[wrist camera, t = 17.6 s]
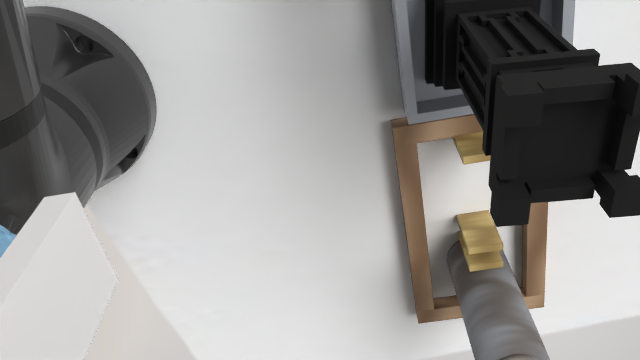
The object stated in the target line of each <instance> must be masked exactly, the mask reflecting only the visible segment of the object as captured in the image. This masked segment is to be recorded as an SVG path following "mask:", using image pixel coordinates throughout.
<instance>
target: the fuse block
mask: <svg viewBox="0 0 640 360" xmlns="http://www.w3.org/2000/svg"><path fill="white" fill-rule="evenodd" d="M391 124H392V132H393V139H394V147H395V155H396V162H397V170H398V177H399V185H400V192H401V200H402V208H403V215H404V223H405V230H406V238H407V245H408V253H409V260H410V268H411V276H412V283H413V291H414V298H415V306H416V313H417V318H418V323H426V322H434V321H441V320H449V319H457V318H463V320H464V323H465V326H466V330H467V333H468V337H469V340H470V344H471V347H472V351H473V354H474V358H475V360H550V359H549V357H548V354H547V352H546V349H545V347H544V345H543V342H542V340H541V338H540V335H539V333H538V331H537V328H536V326H535V324H534V321H533V319H532V317H531V314H530V312H529V310H528V309H533V308H540V307H544V292H545V267H546V241H547V216H548V202H540V203H531V207H530V215H529V223H528V224H525V225H523V231H522V287H519V286H518V284H517V282H516V279H515V277H514V275H513V272H512V270H511V268H510V265H509V263H508V261H507V258H506V256H505V254H504V251H503V243H502V240H501V238H500V236H499V233H498V231H497V229H496V226H495V224H494V222H493V220H492V217H491V215H490V213H489V210H487V211H481V212H474V213H467V214H460V215H457V222H458V225H459V228H460V232H458V238H459V241H458V242H457V243H455V244H454V245H453V246H452V247H451V249H450V250H449V252H448V255H447V264H448V268H449V271H450V275H451V278H452V282H453V285H454V289H455V292H456V295H457V296H449V297H442V298H435V299H433V293H432V283H431V274H430V265H429V256H428V246H427V237H426V228H425V218H424V209H423V200H422V190H421V181H420V172H419V163H418V153H417V144H416V143H422V142H428V141H434V140H440V139H446V138H453V140H454V143H455V145H456V148H457V150H458V152H459V155H460V157H461V159H462V162H463V164H471V163H477V162H483V161H490V159H491V155H490V156H485V154H484V152H483V150H482V142H483V130H482V128H481V126H480V124H479V122H478V120H477V118H476V116H475V115H474V114H470V115H464V116H458V117H452V118H446V119H440V120H434V121H428V122H422V123H416V124H410V125H409V124H408V121H407V118H401V119H395V120H391Z"/></svg>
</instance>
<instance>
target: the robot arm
mask: <svg viewBox="0 0 640 360" xmlns="http://www.w3.org/2000/svg"><path fill="white" fill-rule="evenodd" d="M155 121H156V99H155V94H154V90H153V86H152V83H151V81H150V78H149V76H148V74H147V72H146V70H145V68H144V66H143V65H142V63H141V62H140V60H139V59H138V57H137V56H136V55H135V53H134V52H133V51H132V50H131V49H130V48H129V46H128V45H127V44H126V43H125V42H124V41H123V40H121V39H120V38H119V37H118V36H117V35H116V34H114V33H113V32H112V31H110V30H109V29H108V28H106V27H105V26H103V25H101V24H100V23H98V22H96V21H94V20H92V19H90V18H88V17H86V16H84V15H81V14H78V13H76V12H72V11H69V10H65V9H60V8H54V7H27V8H24V4H23V0H0V360H84V359H85V357H86V354H87V352H88V350H89V348H90V345H91V343H92V341H93V338H94V336H95V334H96V331H97V329H98V327H99V324H100V322H101V320H102V317H103V315H104V313H105V311H106V308H107V306H108V304H109V301H110V299H111V297H112V294H113V292H114V290H115V287H116V285H117V283H118V280H119V278H118V276H117V274H116V272H115V270H114V268H113V266H112V264H111V262H110V260H109V258H108V256H107V254H106V252H105V250H104V248H103V246H102V244H101V242H100V240H99V238H98V236H97V234H96V232H95V231H94V228H93V226H92V224H91V223H90V221H89V219H88V217H87V215H86V213H85V211H84V207H85V205H86V204H87V202H88V200H89V199H90V197H91V195H92V193H93V192H94V191H95V190H97V189H98V188H100V187H102V186H104V185H105V184H107V183H109V182H110V181H112V180H114V179H115V178H117V177H119V176H120V175H122V174H123V173H125V172H126V171H127V170H128V169H129V168H130V167H132V166H133V165H134V163H135V162H136V161H137V160H138V159H139V157H140V156H141V154H142V153H143V151H144V149H145V147H146V146H147V144H148V142H149V140H150V138H151V136H152V133H153V130H154V126H155Z"/></svg>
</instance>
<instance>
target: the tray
mask: <svg viewBox="0 0 640 360" xmlns="http://www.w3.org/2000/svg"><path fill="white" fill-rule="evenodd" d="M391 3H392V12H393V20H394V29H395V37H396V46H397V55H398V63H399V72H400V80H401V89H402V97H403V106H404V111H405V114H406V118H407V121H408V124H409V125H410V124H416V123H422V122H428V121H434V120H440V119H446V118H452V117H458V116H464V115H470V114H474V113H473V111H472V109H471V107H470V105H469V103H468V101H467V99H466V98H465V96H464V94H463V92H462V90H461V89H452V90H444V88H443V86H441V87H435V85H434V83H433V84H426V81H425V0H391ZM574 12H575V0H541V7H540V17H541V18H542V19H543V20H544V21H546V22H547V23H548V24H549V25H550V26H551V27H552V28H553V29H554V30H556V31H557V32H558V33H559V34H560V35H561V36H562V37H563V38H565V39H566V40H567V41H568V42H569V43H570V44H571V45H572V46H573V29H574Z"/></svg>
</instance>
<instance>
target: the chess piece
mask: <svg viewBox="0 0 640 360" xmlns="http://www.w3.org/2000/svg"><path fill="white" fill-rule="evenodd" d="M540 7H541V0H425V81H426V84H433V83H434V85H435V87H441V86H443V88H444V90H452V89H461V90H462V92H463V94H464V96H465V98H466V99H467V101H468V103H469V105H470V107H471V109H472V111H473V113H474V115H475V116H476V118H477V120H478V122H479V124H480V126H481V128H482V130H483V142H482V150H483V152H484V154H485V156H490V155H491V159H490V172H489V187H490V189H491V191H492V195H491V208H490V214H491V216H492V218H493V220H494V223H495V225H496V227H500V226H512V225H525V224H528V223H529V215H530V207H531V203H540V202H552V201H564V200H576V199H588V198H593V195H594V190H596V192H597V193H598V194H599V196H600V197H601V199H600V205H601V207H602V208H603V209H604V211H605V212H606V213H607V215H608V216H609V218H611V217H624V216H636V215H640V177H639V176H638V175H633V176H629V175H628V174H627V173H626V172H625V170H626V169H631V166H632V162H633V157H634V153H635V149H636V145H637V140H638V136H639V132H640V69H638V68H637V67H636V66H634V65H633V64H632V63H624V64H613V65H602V66H598V63H599V57H600V54H599V53H598V52H597V51H596V50H595V49H586V50H577V49H576V48H575V47H574V46H572V45H571V44H570V43H569V42H568V41H567V40H566V39H565V38H563V37H562V36H561V35H560V34H559V33H558V32H557V31H556V30H554V29H553V28H552V27H551V26H550V25H549V24H548V23H547V22H546V21H544V20H543V19H542V18H541V17H540Z"/></svg>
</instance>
